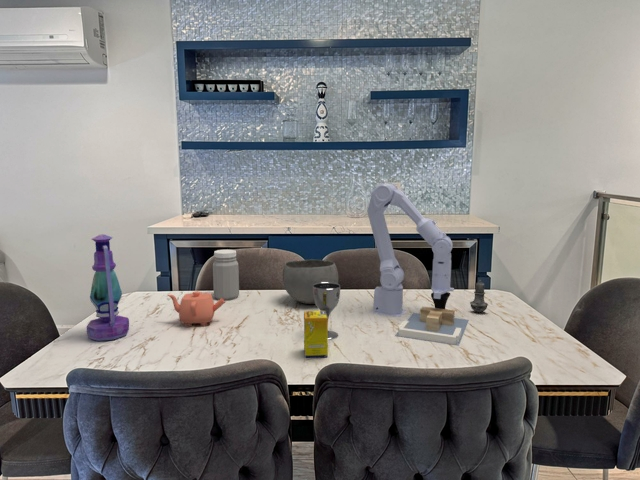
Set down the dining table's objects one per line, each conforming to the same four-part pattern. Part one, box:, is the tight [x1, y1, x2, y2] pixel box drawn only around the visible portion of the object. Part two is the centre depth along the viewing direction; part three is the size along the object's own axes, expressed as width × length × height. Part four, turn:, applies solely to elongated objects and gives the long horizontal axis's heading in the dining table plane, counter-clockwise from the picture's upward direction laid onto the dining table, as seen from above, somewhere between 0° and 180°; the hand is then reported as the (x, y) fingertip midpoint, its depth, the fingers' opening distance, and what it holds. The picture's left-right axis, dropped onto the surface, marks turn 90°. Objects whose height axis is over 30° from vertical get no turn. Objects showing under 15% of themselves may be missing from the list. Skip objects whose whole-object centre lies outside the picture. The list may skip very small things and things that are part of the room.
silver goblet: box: [313, 282, 341, 340], centre depth 132 cm, size 8×8×15 cm
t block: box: [419, 306, 455, 332], centre depth 139 cm, size 10×10×4 cm
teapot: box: [167, 290, 226, 327], centre depth 143 cm, size 14×12×10 cm
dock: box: [397, 319, 462, 345], centre depth 131 cm, size 17×8×2 cm, turn 66°
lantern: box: [86, 233, 130, 342], centre depth 130 cm, size 13×12×30 cm
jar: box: [212, 248, 240, 301], centre depth 172 cm, size 10×10×18 cm
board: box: [394, 312, 470, 346], centre depth 138 cm, size 18×24×1 cm
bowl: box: [282, 258, 339, 305], centre depth 166 cm, size 20×20×15 cm
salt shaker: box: [469, 279, 489, 314], centre depth 152 cm, size 6×6×12 cm
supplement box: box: [303, 310, 329, 359], centre depth 119 cm, size 6×6×11 cm
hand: (439, 314), depth 147 cm, fingers closed
